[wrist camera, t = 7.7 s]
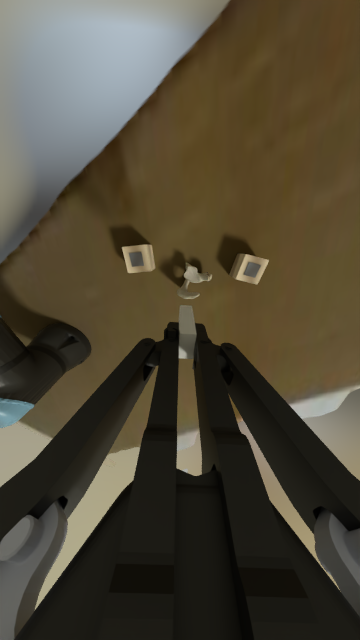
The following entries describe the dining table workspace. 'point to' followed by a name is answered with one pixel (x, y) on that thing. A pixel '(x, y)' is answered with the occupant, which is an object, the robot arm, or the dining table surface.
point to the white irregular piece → (193, 277)
